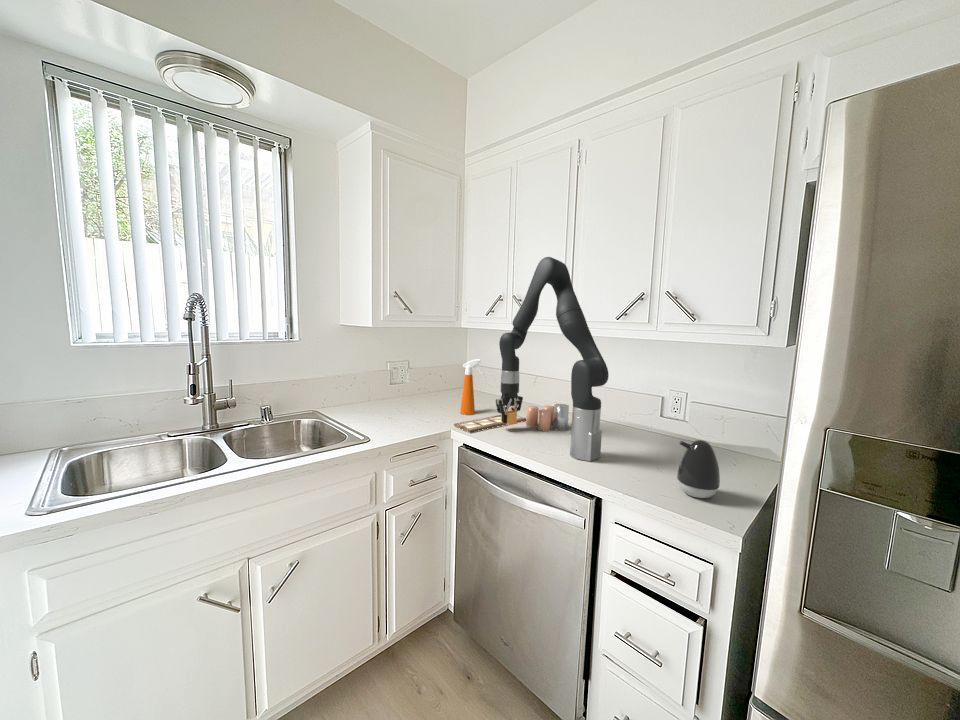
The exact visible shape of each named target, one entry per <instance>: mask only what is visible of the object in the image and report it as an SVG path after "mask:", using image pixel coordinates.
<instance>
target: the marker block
mask: <svg viewBox="0 0 960 720" xmlns="http://www.w3.org/2000/svg"><path fill="white" fill-rule="evenodd" d="M504 411H505V409H504ZM500 415H501V423H502V414H501V413H500ZM517 416H518V411H513V410H511V409H508V412H507V423H506V424H507V425H506V426H511V425H516V424H518V423H517ZM503 424H504V423H503Z"/></svg>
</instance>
